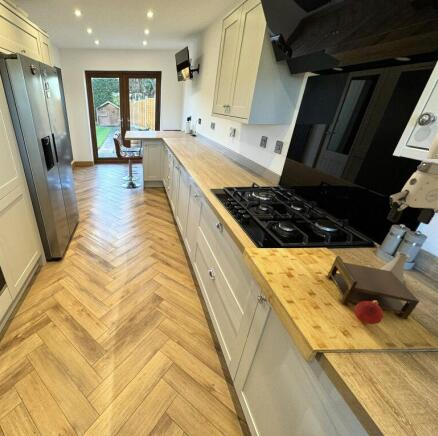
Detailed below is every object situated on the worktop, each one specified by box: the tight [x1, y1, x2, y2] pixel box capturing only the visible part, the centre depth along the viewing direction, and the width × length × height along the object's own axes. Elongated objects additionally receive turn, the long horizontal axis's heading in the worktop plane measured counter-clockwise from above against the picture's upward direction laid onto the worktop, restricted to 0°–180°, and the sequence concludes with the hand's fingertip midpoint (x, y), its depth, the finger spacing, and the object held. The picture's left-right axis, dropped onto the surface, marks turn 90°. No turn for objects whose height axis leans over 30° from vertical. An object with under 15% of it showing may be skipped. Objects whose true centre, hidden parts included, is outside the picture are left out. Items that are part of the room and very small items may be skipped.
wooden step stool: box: [326, 255, 420, 320], centre depth 75 cm, size 16×14×9 cm
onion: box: [354, 300, 385, 325], centre depth 65 cm, size 6×6×8 cm
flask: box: [379, 251, 411, 284], centre depth 83 cm, size 7×7×10 cm
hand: (406, 221), depth 76 cm, fingers open, 9 cm apart
